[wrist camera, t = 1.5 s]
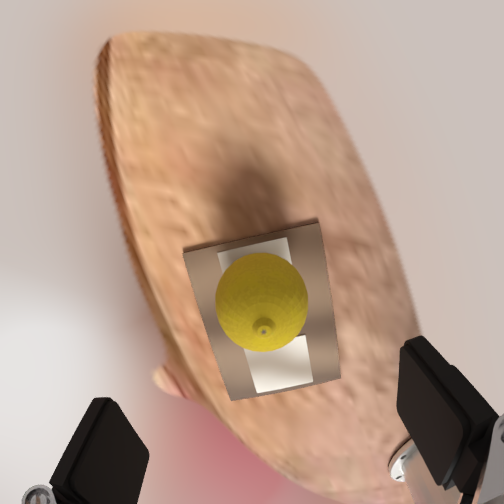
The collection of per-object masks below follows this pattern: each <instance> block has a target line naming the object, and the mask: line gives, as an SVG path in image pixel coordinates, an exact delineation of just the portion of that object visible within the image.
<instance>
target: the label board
mask: <svg viewBox="0 0 504 504" xmlns="http://www.w3.org/2000/svg"><path fill="white" fill-rule="evenodd" d="M253 253H270V254H274V255H277V256H279V257H281V258H283V259H285V260H287V261H288V262H289V263H290V264H292V265H293V266H294V267H295V268H296V269H297V271H298V272H299V274H300V275H301V277H302V278H303V280H304V283H305V286H306V289H307V293H308V312H307V316H306V320H305V323H304V325H303V327H302V329H301V331H300V332H299V334H298V335H297V336H296V337H295V338H294V339H293V340H292V341H291V342H290V343H288V344H287V345H285V346H284V347H282V348H279V349H276V350H274V351H268V352H256V351H251V350H248V349H245V348H242V347H241V346H239V345H237V344H235V343H234V342H233V341H232V340H231V339H230V338H229V337H228V336H227V335H226V334H225V332H224V330H223V329H222V327H221V325H220V323H219V320H218V317H217V313H216V309H215V294H216V290H217V286H218V283H219V280H220V278H221V277H222V275H223V274H224V272H225V270H226V269H227V268H228V267H229V266H230V265H231V264H232V263H233V262H234V261H236V260H238V259H239V258H241V257H243V256H245V255H249V254H253ZM183 258H184V261H185V265H186V268H187V271H188V275H189V278H190V281H191V285H192V288H193V291H194V295H195V298H196V301H197V304H198V307H199V310H200V314H201V317H202V320H203V323H204V326H205V329H206V332H207V335H208V338H209V341H210V344H211V347H212V350H213V353H214V355H215V358H216V361H217V364H218V367H219V370H220V372H221V375H222V378H223V381H224V383H225V386H226V389H227V392H228V394H229V397H230V400H231V401H234V400H240V399H247V398H253V397H259V396H264V395H270V394H275V393H280V392H285V391H290V390H294V389H299V388H304V387H308V386H312V385H316V384H321V383H325V382H328V381H332V380H336V379H340V378H341V374H340V364H339V354H338V345H337V336H336V328H335V320H334V313H333V305H332V298H331V291H330V284H329V278H328V271H327V265H326V259H325V253H324V247H323V241H322V235H321V230H320V224H319V222H317V223H312V224H308V225H303V226H299V227H294V228H290V229H285V230H281V231H276V232H272V233H267V234H263V235H258V236H254V237H249V238H245V239H241V240H236V241H232V242H227V243H223V244H219V245H214V246H210V247H206V248H201V249H197V250H193V251H188V252H184V253H183Z"/></svg>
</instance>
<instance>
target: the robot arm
mask: <svg viewBox="0 0 504 504" xmlns="http://www.w3.org/2000/svg"><path fill="white" fill-rule="evenodd" d="M397 411H398V414H399V416H400V418H401V420H402V421H403V423H404V425H405V427H406V429H407V430H408V432H409V434H410V436H411V438H412V439H410V440H409V441H408V442H407V443H406V444H405V445H403V446H402V447H401V448H400V449H399V450H398V452H397V453H396V454H395V455H394V457H393V458H392V460H391V462H390V464H389V467H388V471H389V474H390V476H391V478H392V479H393V480H395V481H400V482H406V483H407V486H408V488H409V490H410V493H411V495H412V497H413V500H414V502H415V504H504V414H503V415H502V416H500V417H499V415H498V414H497V413H496V412H495V411H494V410H493V409H492V407H491V406H490V405H489V404H488V403H487V401H486V400H485V399H484V398H483V397H482V396H481V395H480V393H479V392H478V391H477V390H476V389H475V388H474V386H473V385H472V384H471V383H470V382H469V381H468V380H467V379H466V378H465V376H464V375H463V374H462V373H461V372H460V371H459V370H458V369H457V368H456V367H455V366H453V365H450V364H449V363H448V362H447V361H446V360H445V359H444V358H443V357H442V355H441V354H440V353H439V352H438V351H437V350H436V349H435V348H434V347H433V346H432V345H431V344H430V343H429V341H427V339H426V338H425V337H424V336H418V337H415V338H413V339H410V340H407V341H405V343H404V346H403V347H401V348H400V361H399V380H398V393H397ZM148 460H149V451H148V449H147V448H146V446H145V445H144V443H143V442H142V440H141V439H140V438H139V436H138V435H137V433H136V432H135V430H134V429H133V427H132V426H131V424H130V423H129V421H128V419H127V418H126V417H125V415H124V413H123V412H122V410H121V409H120V407H119V405H118V404H117V403H116V402H115V401H113V400H112V399H111V398H108V397H101V398H94V399H93V400H92V402H91V404H90V405H89V407H88V409H87V411H86V413H85V414H84V416H83V418H82V420H81V422H80V423H79V426H78V427H77V429H76V431H75V433H74V435H73V436H72V438H71V440H70V442H69V444H68V446H67V448H66V450H65V452H64V453H63V456H62V458H61V459H60V461H59V463H58V465H57V467H56V469H55V471H54V473H53V475H52V477H51V479H50V482H49V483H50V484H51V485H52V486H53V488H52V490H51V489H50V488H49V487H47V486H45V485H36V486H33V487H31V488H29V489H28V490H27V491H26V492H25V494H24V496H23V498H22V504H137V502H138V498H139V494H140V491H141V487H142V483H143V479H144V475H145V472H146V468H147V464H148Z"/></svg>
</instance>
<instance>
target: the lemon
mask: <svg viewBox="0 0 504 504" xmlns="http://www.w3.org/2000/svg"><path fill="white" fill-rule="evenodd" d="M215 309H216V313H217V317H218V320H219V323H220V325H221V327H222V329H223V330H224V332H225V334H226V335H227V336H228V337H229V338H230V339H231V340H232V341H233V342H234V343H235V344H237V345H239V346H241V347H242V348H245V349H248V350H251V351H256V352H268V351H274V350H276V349H279V348H282V347H284V346H285V345H287V344H288V343H290V342H291V341H292V340H293V339H294V338H295V337H296V336H297V335H298V334H299V332H300V331H301V329H302V327H303V325H304V323H305V320H306V316H307V312H308V293H307V289H306V286H305V283H304V280H303V278H302V277H301V275H300V274H299V272H298V271H297V269H296V268H295V267H294V266H293V265H292V264H290V263H289V262H288V261H287V260H285V259H283V258H281V257H279V256H277V255H274V254H270V253H253V254H249V255H245V256H243V257H241V258H239V259H238V260H236V261H234V262H233V263H232V264H231V265H230V266H229V267H228V268H227V269H226V270H225V272H224V274H223V275H222V277H221V278H220V280H219V283H218V286H217V290H216V294H215Z"/></svg>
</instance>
